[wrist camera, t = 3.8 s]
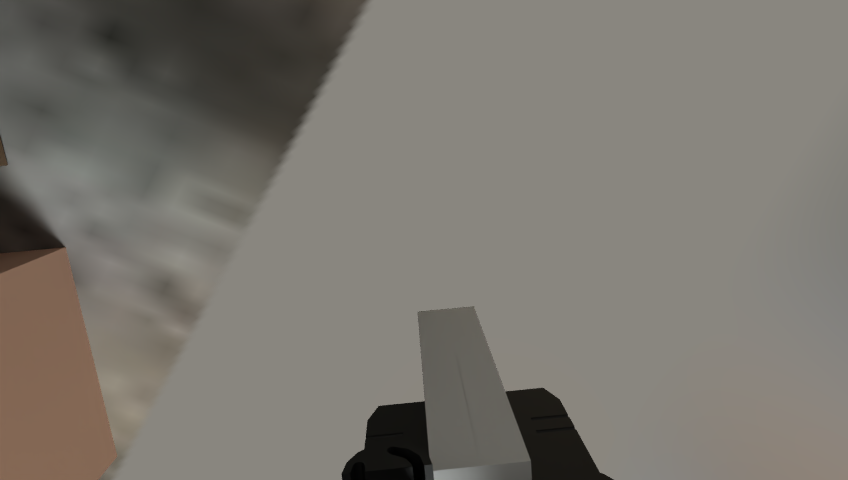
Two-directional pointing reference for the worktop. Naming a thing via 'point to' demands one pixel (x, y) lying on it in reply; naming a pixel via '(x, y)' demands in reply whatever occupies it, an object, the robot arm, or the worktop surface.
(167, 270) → the worktop surface
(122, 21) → the worktop surface
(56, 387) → the block
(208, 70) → the worktop surface
